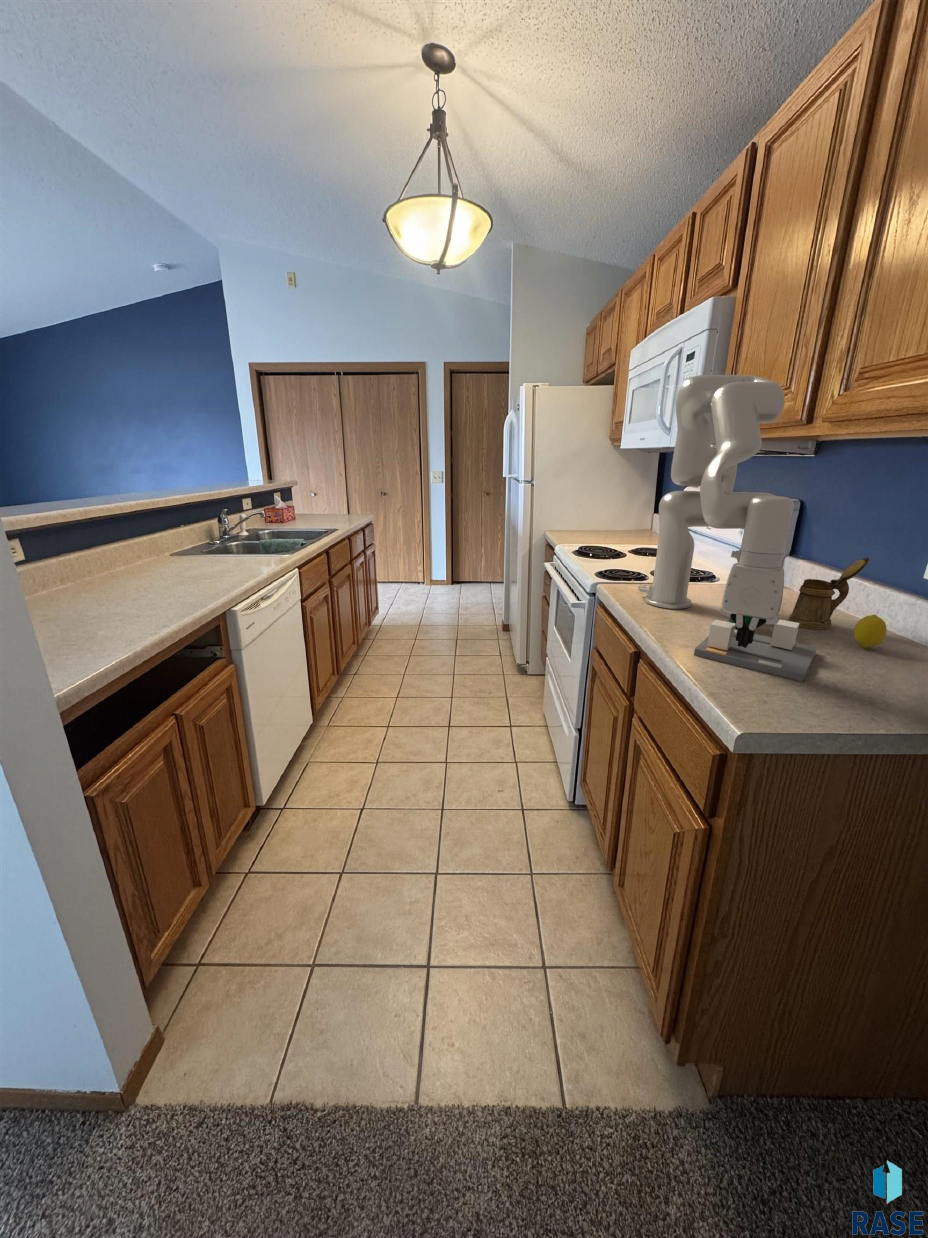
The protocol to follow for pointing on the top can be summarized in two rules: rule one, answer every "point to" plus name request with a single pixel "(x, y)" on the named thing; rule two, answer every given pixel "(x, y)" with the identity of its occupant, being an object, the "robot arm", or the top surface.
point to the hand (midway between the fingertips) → (743, 645)
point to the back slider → (784, 634)
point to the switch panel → (763, 657)
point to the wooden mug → (823, 598)
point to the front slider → (721, 634)
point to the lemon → (870, 631)
